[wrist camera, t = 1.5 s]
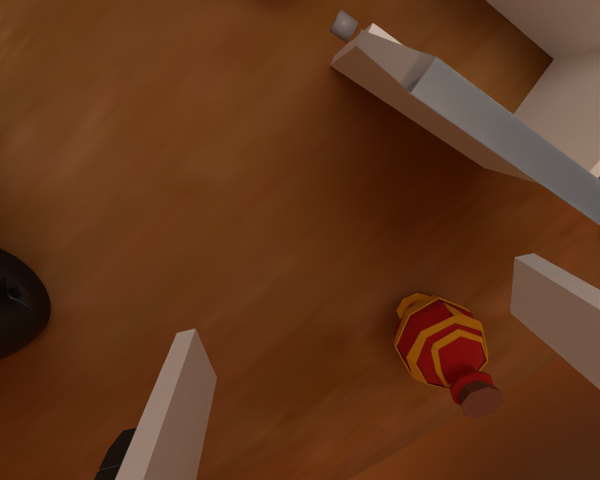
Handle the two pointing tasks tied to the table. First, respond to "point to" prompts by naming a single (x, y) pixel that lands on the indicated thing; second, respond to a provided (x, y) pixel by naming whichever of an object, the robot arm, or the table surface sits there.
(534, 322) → the robot arm
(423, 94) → the box lid
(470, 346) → the potion bottle
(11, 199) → the table surface
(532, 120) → the white lidded container
